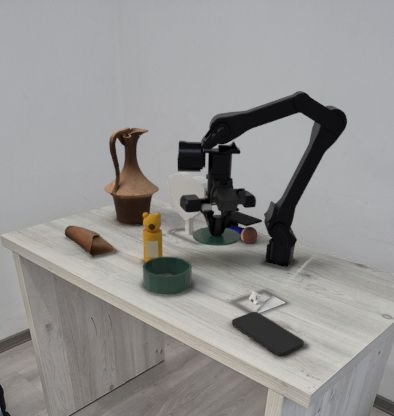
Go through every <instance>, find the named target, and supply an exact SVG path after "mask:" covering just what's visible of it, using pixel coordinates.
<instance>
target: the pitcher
mask: <svg viewBox="0 0 394 416" xmlns="http://www.w3.org/2000/svg"><path fill="white" fill-rule="evenodd" d="M146 133H149V130H148V129H145V128H138V127H132V128H131V127H129V126H128V127H124V128H120V129H117V130H115V131H113V132H112V133H111V135H110V137H109V140H108V141H109V142H108V148H109V152H110V156H111V160H112V163H113V167H114V172H115V178H114V179H112V180H111V182H109V183H107V184H106V185H105V186H104V191H105V192H106V193H107V194H109V195H110V196H111V197H112V199H113V204H114V209H115V214H116V215H115V217H116V221H117V222H118V223H120V224H122V225H126V226H127V225H128V226H139V225H143V220H144V218H143V213H145V212H147V213H148V214H151V205H152V204H151V203H152V198H153V196H154V194H155V193H157V192H158V191H160V188H159V186H157V185H156V184H154V183H153V182H151V180H150V179H148V178H147V177H146V175H145V174H144V173H143V172H142V170H141V167H140V166H139V161H138V155H137V153H138V152H137V148H138V142H139V140H140V137H141V136H142V135H144V134H146ZM117 140H118V142H119V143H120V144H121V145H122V146H123V147H124V161H123V167H122V169H121V171H120V163H119V159H118V155H117V154H118V153H117V148H116V143H117Z"/></svg>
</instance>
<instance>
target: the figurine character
mask: <svg viewBox="0 0 394 416" xmlns="http://www.w3.org/2000/svg"><path fill="white" fill-rule="evenodd" d="M259 223H260V224H261V223H263V219H261V218H259V217H255V216H252V215H249V214H247V213H243V212H240V211H238V212H235V213H234V214H232V216H231V218H230V219H229V222H228V224H227V226H226V228H229V229H232V230H235V231H237V232H238V233H239V234H240V240H241V241H242V242H243V243H244V244H249V245H250V244H253V243H255V242H256V241H257V240H258V235H259V234H258V231H257V229H256V228H254V227H252V225H257V224H259ZM239 225H241V226H239ZM242 226H244V227H242Z"/></svg>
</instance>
